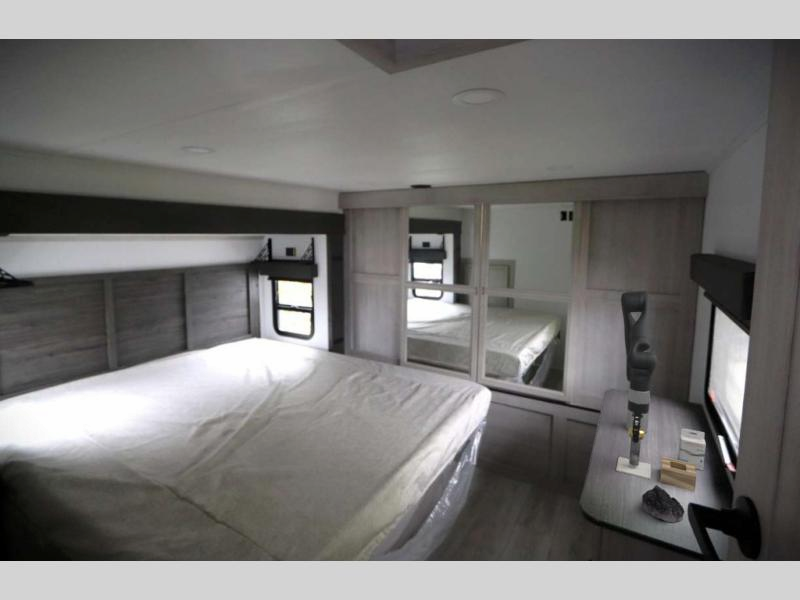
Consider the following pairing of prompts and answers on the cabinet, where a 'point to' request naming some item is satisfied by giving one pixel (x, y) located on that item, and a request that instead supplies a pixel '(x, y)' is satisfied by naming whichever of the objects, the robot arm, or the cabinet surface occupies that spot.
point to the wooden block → (678, 473)
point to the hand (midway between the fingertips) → (635, 438)
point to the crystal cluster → (662, 505)
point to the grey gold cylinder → (635, 447)
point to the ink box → (692, 447)
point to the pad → (634, 468)
